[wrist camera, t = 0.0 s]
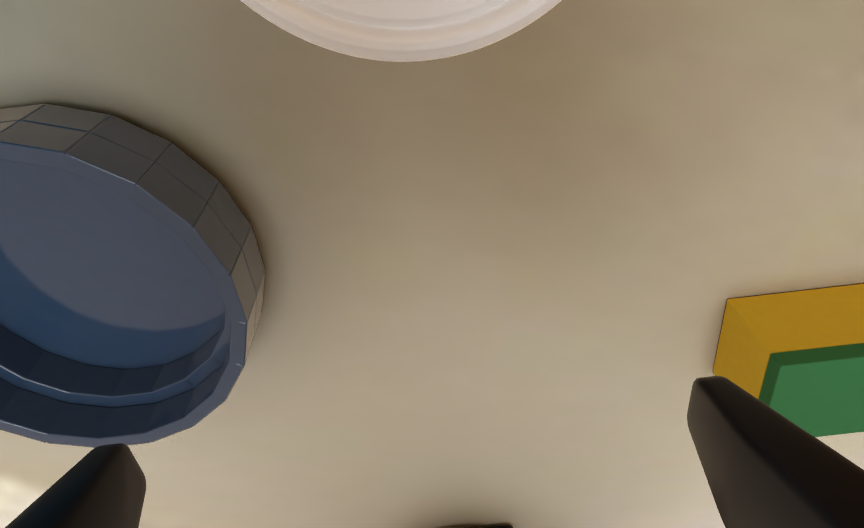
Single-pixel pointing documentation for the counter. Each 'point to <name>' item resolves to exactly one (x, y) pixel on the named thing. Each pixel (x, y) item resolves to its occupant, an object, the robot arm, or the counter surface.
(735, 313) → the sponge
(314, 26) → the beverage can
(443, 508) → the counter surface
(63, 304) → the bowl
